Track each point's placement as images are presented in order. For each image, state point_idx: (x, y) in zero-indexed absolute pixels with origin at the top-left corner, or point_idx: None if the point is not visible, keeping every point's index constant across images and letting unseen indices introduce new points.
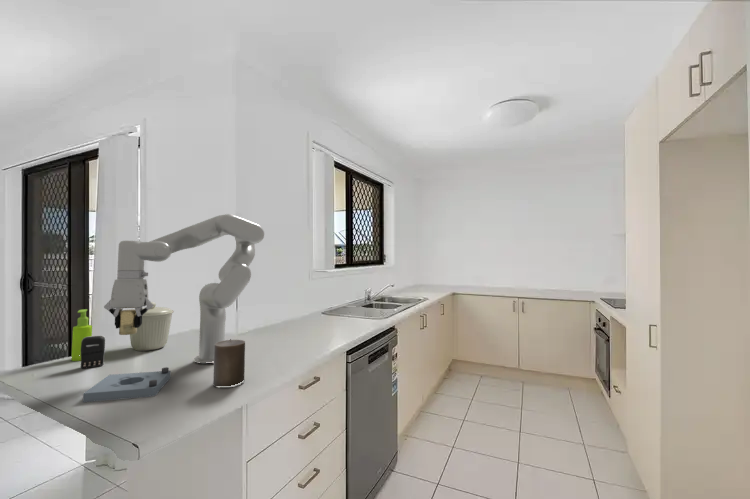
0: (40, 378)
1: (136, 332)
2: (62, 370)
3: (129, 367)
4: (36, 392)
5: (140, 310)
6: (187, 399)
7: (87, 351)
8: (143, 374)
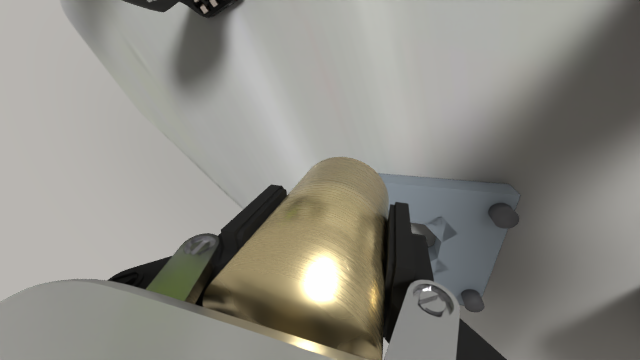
0: (174, 93)
1: (388, 203)
2: (169, 24)
3: (345, 22)
4: (232, 188)
5: (418, 357)
6: (548, 334)
7: (172, 4)
8: (431, 206)
